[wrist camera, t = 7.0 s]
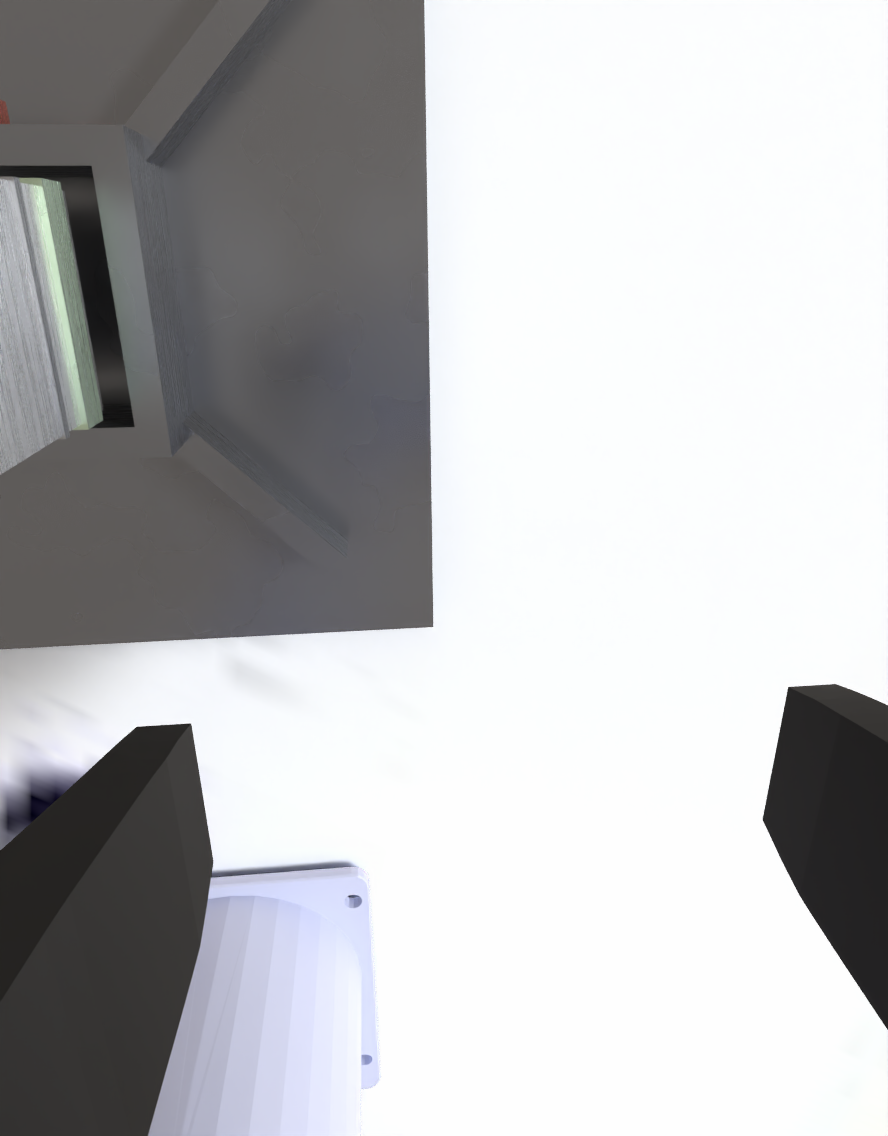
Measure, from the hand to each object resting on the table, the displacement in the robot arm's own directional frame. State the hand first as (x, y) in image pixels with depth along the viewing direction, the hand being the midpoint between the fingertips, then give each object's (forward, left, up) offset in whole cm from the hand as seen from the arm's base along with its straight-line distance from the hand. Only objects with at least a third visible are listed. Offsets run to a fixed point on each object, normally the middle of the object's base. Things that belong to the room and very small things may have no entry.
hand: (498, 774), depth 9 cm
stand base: (+5, +8, -10) cm, 14 cm away
